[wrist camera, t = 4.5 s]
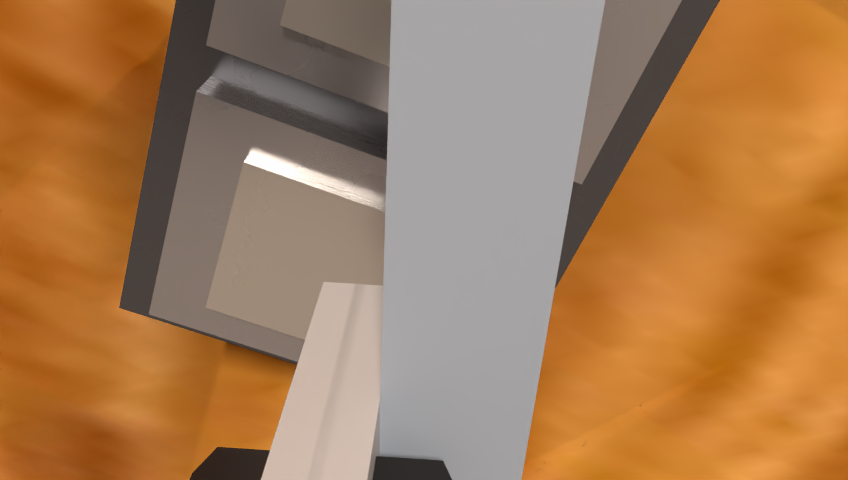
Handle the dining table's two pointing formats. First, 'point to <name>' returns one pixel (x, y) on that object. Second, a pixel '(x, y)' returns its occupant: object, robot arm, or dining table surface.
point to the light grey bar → (476, 219)
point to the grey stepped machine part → (327, 155)
